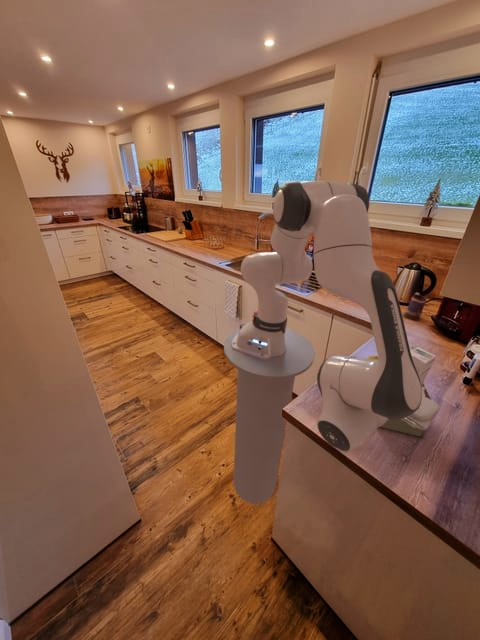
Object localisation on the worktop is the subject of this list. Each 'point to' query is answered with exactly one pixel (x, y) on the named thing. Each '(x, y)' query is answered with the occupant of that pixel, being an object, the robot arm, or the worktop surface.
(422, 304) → the mug
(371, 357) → the lemon
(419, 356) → the syrup box
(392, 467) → the worktop surface
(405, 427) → the green side table
